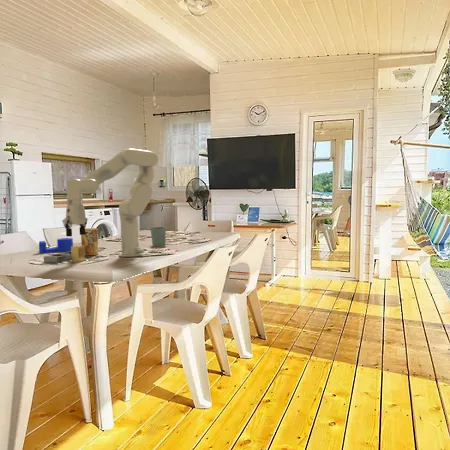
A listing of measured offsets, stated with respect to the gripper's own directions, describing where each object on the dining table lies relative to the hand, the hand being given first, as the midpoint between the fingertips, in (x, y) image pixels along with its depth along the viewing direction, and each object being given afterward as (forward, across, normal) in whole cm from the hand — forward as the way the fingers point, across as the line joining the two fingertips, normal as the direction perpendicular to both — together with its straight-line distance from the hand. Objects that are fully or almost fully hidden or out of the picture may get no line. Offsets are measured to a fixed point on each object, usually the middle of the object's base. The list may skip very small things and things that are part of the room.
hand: (75, 235), depth 212 cm
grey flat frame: (+14, +3, +10) cm, 17 cm away
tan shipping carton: (+14, +1, 0) cm, 14 cm away
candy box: (+14, +21, +8) cm, 26 cm away
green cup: (+12, +67, -10) cm, 69 cm away
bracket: (+14, +26, +39) cm, 48 cm away
